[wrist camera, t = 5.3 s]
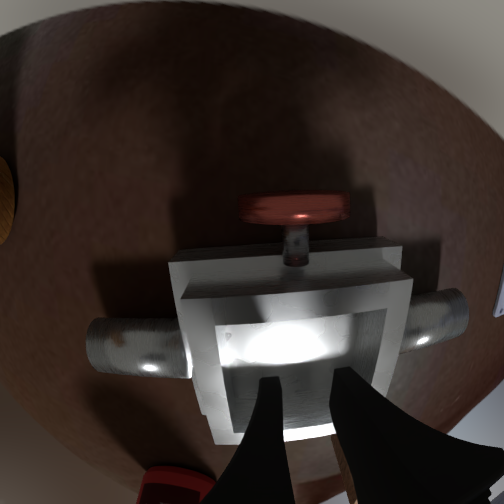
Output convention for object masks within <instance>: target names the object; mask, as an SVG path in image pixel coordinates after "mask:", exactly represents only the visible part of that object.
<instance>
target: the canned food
mask: <svg viewBox="0 0 504 504" xmlns="http://www.w3.org/2000/svg"><path fill="white" fill-rule="evenodd" d="M215 484H216V482H215V481H214V480H213V479H211V478H210V477H208V476H206V475H204V474H201V473H199V472H196V471H193V470H189V469H185V468H181V467H175V466H154V467H151V468H149V469H148V470H147V472H146V473H145V474H144V476H143V480H142V484H141V487H140V491H139V495H138V498H137V502H136V504H199V503H200V502H201V501H202V499H203V498H204V497H205V496H206V495H207V494H208V492H209V491H210V490H211V489H212V487H213V486H214V485H215Z"/></svg>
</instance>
